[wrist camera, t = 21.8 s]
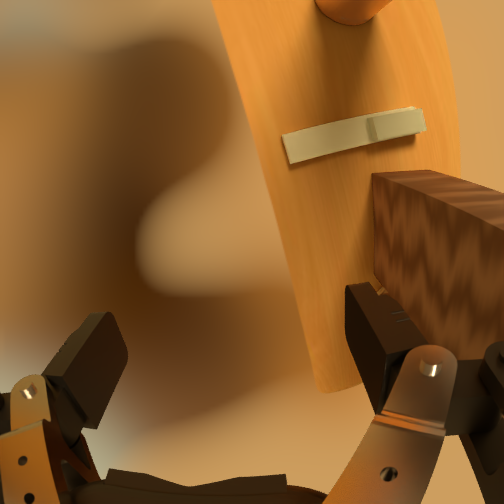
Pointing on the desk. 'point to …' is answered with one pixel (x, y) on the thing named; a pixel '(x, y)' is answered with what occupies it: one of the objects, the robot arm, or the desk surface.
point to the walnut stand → (442, 256)
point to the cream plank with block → (352, 133)
